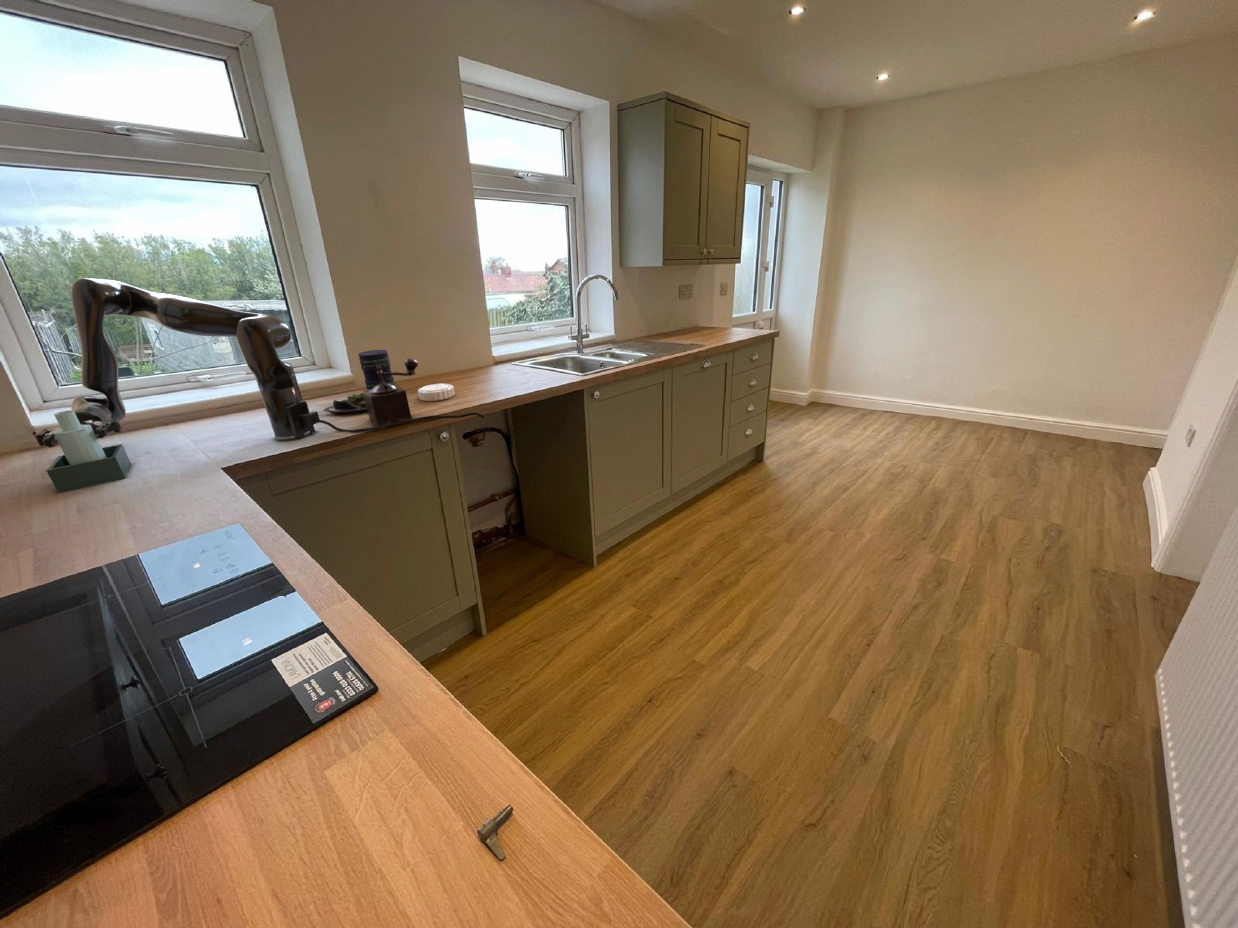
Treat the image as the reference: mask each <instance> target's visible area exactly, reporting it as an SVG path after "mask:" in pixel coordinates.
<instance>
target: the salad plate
mask: <svg viewBox="0 0 1238 928" xmlns="http://www.w3.org/2000/svg"><path fill="white" fill-rule="evenodd" d="M322 411H323V412H328V413H331V414H332V415H334V416H339V417H341V416H342V417H343V416H345V417H346V416H353V415H354V416H355V415H363V414H368V411H367V407H366V402H365V398H364V394H363V392H361V393H360V392H357V393H356V394H354V393H352V395H349V396H347V397H346V399H342V400H336V399H335V400H333V402H332V405H331V406H328V407H326V408H324V409H322Z"/></svg>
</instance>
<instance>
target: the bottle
mask: <svg viewBox="0 0 1238 928" xmlns="http://www.w3.org/2000/svg"><path fill="white" fill-rule="evenodd" d="M53 416H54V417H55V419H56V421H57V423H58V425H59V427H61V429H59V430H56V431H54V432H53V431H52V432H53V433H54V435H55V437H54V438H55V440H57V441H58V443H57V444H58V445H59V447H60V449H61V450H62V452H63V455H65V456H66V458H67V460H68V462H69V464H70V465H74V464H79V463H84V462H89V461H94V460H99V459H104V458H107V457H106V455H105V453H104V451H103V449H102V448H103V447H102V445H101V443H100V441H99V438H98V439H97V437H96V435H95V433H94V431H93V429H92V427H91V425H87V424H86V425H81V424H80V422H79V420H78V418H77V416H76V414H75V412H74V410H71V409H69V410H63V411H57V412H55V413H54V414H53Z"/></svg>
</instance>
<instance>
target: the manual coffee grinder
mask: <svg viewBox="0 0 1238 928" xmlns="http://www.w3.org/2000/svg"><path fill="white" fill-rule="evenodd" d="M403 361H404V362H403V364H404V366H405V368H406V371H405V372H399V371H398V372H397V371H393V372H392V371H391V372H388V373H387V372H382V371H381V367H380V366H377V370H378V371H377V373H378V374H379V378H380V384H379V385H377V386H375V387H374V388H373V389H369V390H367V389H365V390H364V389H363V390H362V393H363V394H364V398H365V402H366V407H367V411H368V413H367V415H368V419H369V420H370V422H371V423H372V424H373V425H374V427H376V426H381V425H385V424H389V423H394V422H399V421H404V420H409V419H413V417H412V413H411V410H410V404H409V399H408V395H407V391H406V389H405V388H403V387H401V386H400V385H397V384H395V385H392V384H388V383H384V381H383V377H382V374H384V375H392V376H403V377H412V376H415V375H416V368H417V367H418V366H419V363H418V361H417V360H415V359H414V358H407V359H405V360H403Z"/></svg>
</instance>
